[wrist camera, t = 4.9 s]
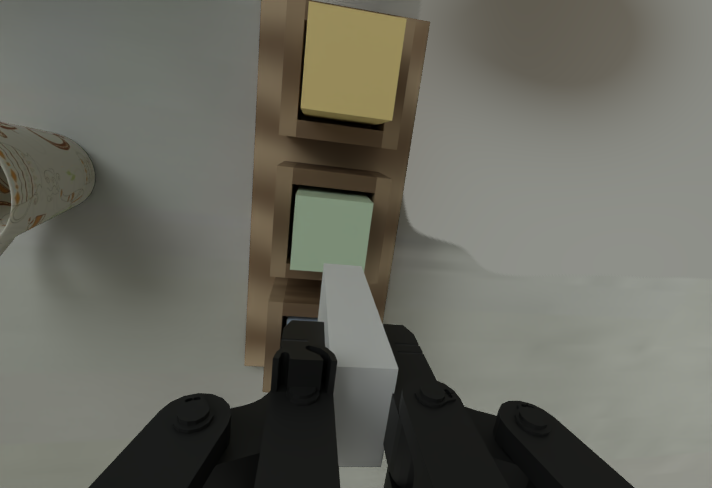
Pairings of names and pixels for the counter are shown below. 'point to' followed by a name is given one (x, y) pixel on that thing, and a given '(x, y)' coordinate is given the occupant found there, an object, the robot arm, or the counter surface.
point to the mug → (38, 178)
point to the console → (317, 174)
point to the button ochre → (351, 64)
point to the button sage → (330, 228)
